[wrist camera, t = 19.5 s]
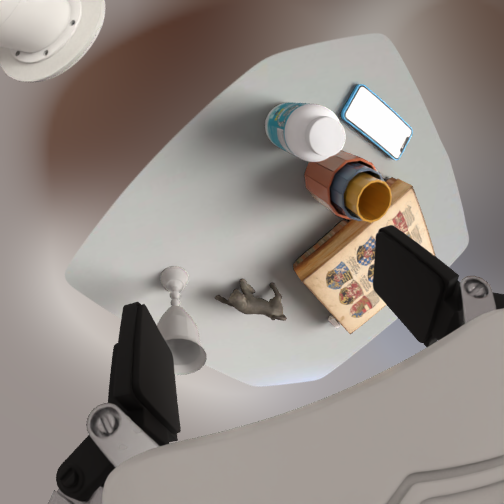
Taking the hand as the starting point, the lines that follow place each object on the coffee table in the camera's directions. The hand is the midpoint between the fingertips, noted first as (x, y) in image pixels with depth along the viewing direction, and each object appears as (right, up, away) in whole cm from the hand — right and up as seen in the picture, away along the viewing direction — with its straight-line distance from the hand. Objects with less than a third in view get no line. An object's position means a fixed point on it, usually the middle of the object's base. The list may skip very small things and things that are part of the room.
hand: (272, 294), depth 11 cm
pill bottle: (+4, +21, +30) cm, 37 cm away
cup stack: (+12, +15, +36) cm, 41 cm away
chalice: (-14, -3, +38) cm, 41 cm away
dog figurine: (-1, -5, +43) cm, 44 cm away
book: (+23, 0, +47) cm, 53 cm away
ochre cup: (+13, +14, +35) cm, 40 cm away
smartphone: (+21, +24, +33) cm, 46 cm away
